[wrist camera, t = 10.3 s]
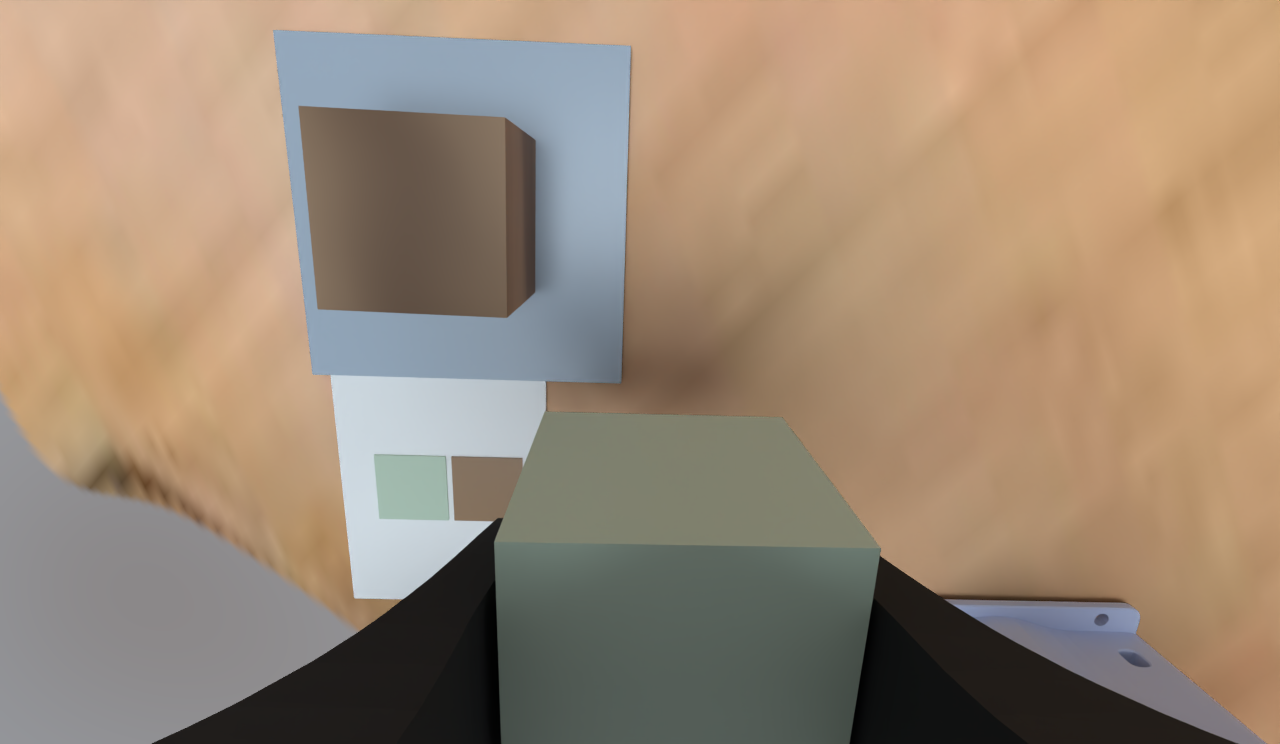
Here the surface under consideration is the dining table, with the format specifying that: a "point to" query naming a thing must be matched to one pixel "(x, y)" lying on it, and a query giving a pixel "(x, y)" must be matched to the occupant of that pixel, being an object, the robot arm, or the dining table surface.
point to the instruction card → (426, 469)
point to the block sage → (678, 586)
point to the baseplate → (565, 199)
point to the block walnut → (419, 211)
